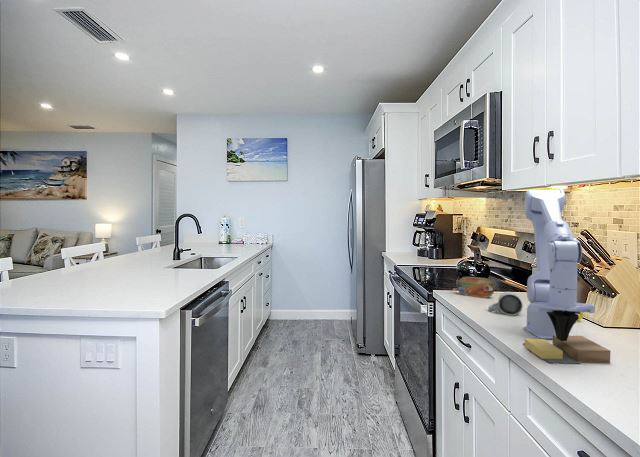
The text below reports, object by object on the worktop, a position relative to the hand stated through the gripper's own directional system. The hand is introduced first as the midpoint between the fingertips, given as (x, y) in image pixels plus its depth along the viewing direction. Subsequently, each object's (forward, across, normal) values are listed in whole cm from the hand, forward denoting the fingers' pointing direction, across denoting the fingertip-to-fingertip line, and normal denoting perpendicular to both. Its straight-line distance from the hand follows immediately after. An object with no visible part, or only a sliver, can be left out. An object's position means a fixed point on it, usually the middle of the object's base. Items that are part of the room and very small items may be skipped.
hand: (561, 339), depth 88 cm
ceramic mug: (+4, +3, +37) cm, 37 cm away
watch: (+4, +20, +28) cm, 35 cm away
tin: (+4, +1, +61) cm, 61 cm away
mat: (+4, -3, 0) cm, 5 cm away
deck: (+4, +4, 0) cm, 6 cm away
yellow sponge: (+2, -5, 0) cm, 5 cm away
